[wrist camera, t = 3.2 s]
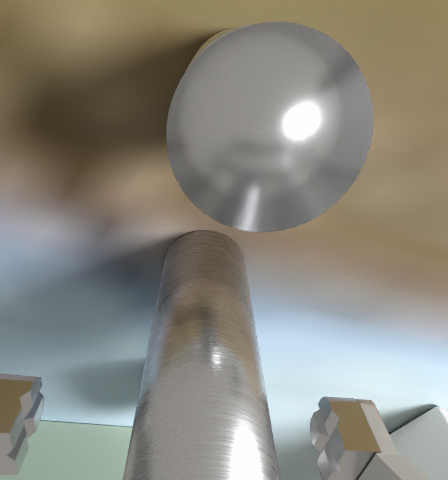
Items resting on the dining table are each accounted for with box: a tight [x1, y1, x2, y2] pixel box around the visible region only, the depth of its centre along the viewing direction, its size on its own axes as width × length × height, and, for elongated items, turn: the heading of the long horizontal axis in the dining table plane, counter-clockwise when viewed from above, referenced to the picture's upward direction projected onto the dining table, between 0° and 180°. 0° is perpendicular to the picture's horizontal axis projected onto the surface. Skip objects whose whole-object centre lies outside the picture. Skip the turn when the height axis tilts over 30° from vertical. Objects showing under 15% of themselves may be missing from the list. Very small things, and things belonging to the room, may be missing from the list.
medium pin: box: [166, 22, 373, 232], centre depth 9 cm, size 4×4×7 cm
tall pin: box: [123, 231, 280, 480], centre depth 12 cm, size 4×4×10 cm
